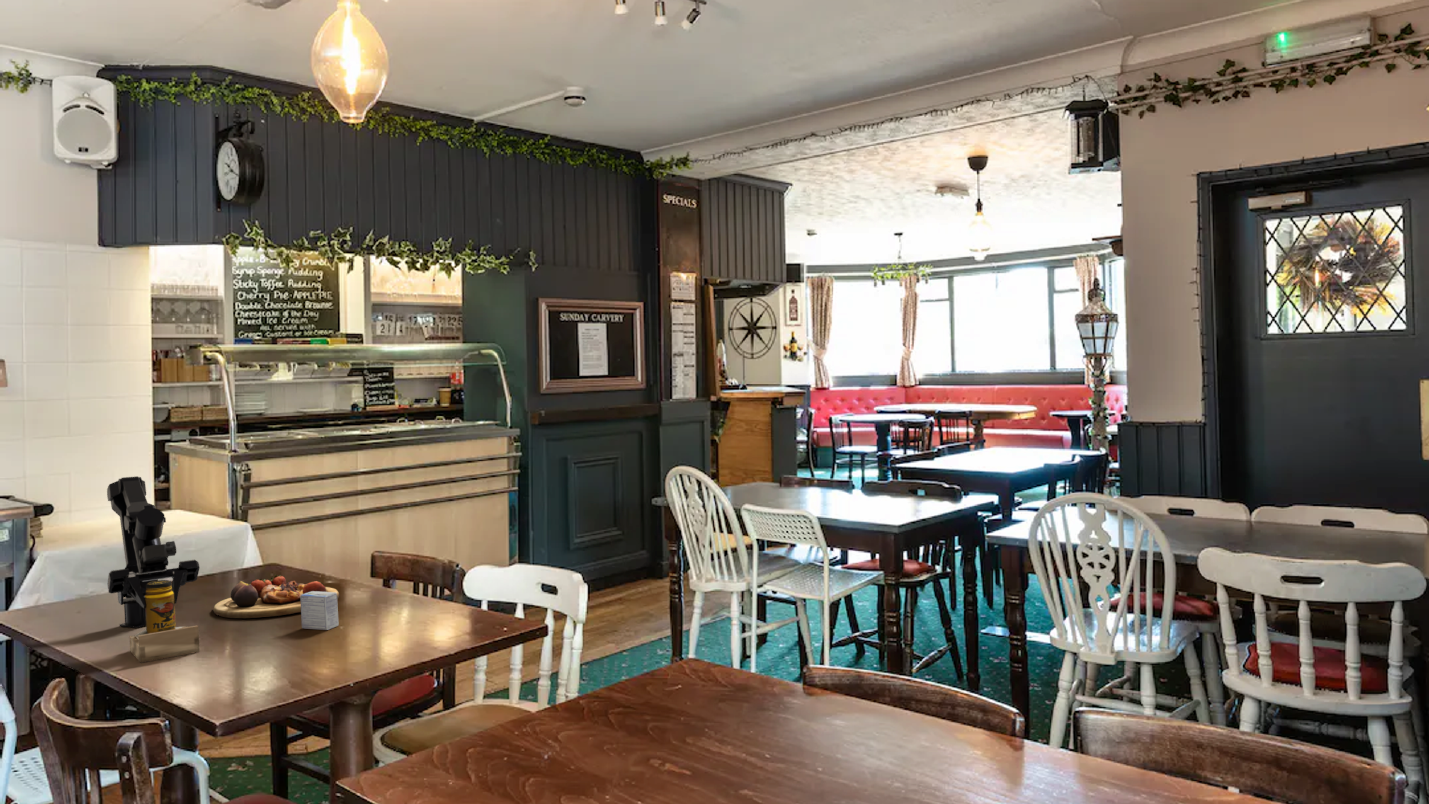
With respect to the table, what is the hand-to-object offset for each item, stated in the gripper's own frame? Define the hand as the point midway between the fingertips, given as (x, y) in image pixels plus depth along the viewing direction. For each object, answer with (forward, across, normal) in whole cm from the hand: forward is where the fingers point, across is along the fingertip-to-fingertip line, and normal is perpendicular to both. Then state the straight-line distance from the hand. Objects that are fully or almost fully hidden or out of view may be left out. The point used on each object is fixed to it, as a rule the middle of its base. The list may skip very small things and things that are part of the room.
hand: (160, 605), depth 229 cm
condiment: (+4, -1, +6) cm, 7 cm away
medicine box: (+13, +34, +3) cm, 36 cm away
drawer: (+9, 0, +6) cm, 11 cm away
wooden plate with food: (-11, +33, +27) cm, 45 cm away
